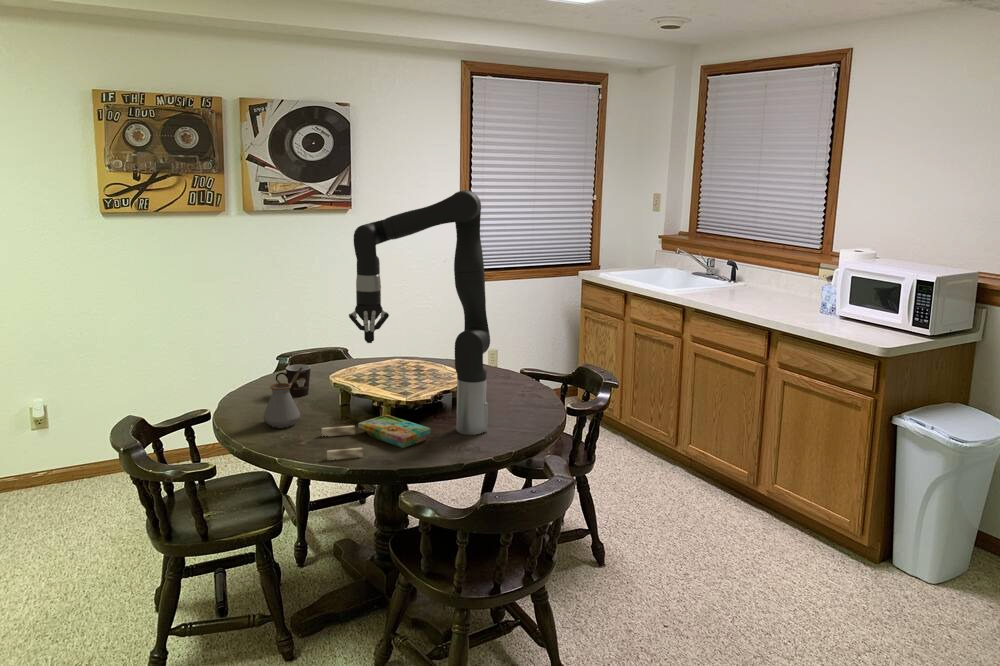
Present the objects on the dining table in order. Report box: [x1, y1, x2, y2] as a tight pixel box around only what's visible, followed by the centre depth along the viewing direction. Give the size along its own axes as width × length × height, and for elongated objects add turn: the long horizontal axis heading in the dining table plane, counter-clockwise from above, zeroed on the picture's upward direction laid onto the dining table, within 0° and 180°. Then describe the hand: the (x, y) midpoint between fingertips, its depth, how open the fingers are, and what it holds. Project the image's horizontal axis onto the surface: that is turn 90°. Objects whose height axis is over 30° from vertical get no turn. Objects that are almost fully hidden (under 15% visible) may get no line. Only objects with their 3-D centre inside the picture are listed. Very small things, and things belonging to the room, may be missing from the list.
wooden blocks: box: [321, 425, 364, 461], centre depth 230 cm, size 10×20×2 cm, turn 17°
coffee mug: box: [275, 364, 312, 398], centre depth 277 cm, size 12×9×10 cm
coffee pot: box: [262, 367, 305, 429], centre depth 250 cm, size 21×12×15 cm, turn 168°
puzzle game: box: [357, 413, 432, 449], centre depth 238 cm, size 12×5×20 cm
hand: (369, 342), depth 244 cm, fingers closed
